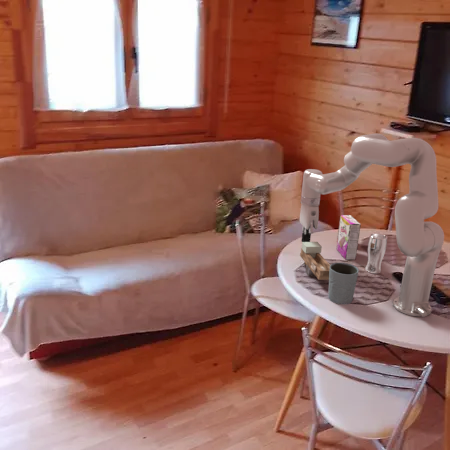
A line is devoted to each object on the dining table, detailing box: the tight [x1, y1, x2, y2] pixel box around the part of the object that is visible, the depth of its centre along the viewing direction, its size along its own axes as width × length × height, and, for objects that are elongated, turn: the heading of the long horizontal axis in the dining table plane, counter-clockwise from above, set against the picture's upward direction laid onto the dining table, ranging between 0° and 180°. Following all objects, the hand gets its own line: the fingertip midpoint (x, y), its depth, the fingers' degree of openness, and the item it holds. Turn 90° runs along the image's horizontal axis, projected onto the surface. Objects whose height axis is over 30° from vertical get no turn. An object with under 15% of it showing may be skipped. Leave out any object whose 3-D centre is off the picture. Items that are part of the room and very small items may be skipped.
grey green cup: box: [327, 262, 360, 305], centre depth 176 cm, size 10×10×12 cm
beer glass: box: [364, 232, 388, 274], centre depth 199 cm, size 7×7×15 cm
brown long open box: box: [299, 247, 331, 281], centre depth 195 cm, size 22×7×7 cm, turn 10°
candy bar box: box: [336, 214, 362, 261], centre depth 212 cm, size 11×5×16 cm, turn 9°
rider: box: [301, 241, 323, 258], centre depth 200 cm, size 5×6×5 cm
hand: (305, 242), depth 206 cm, fingers closed
